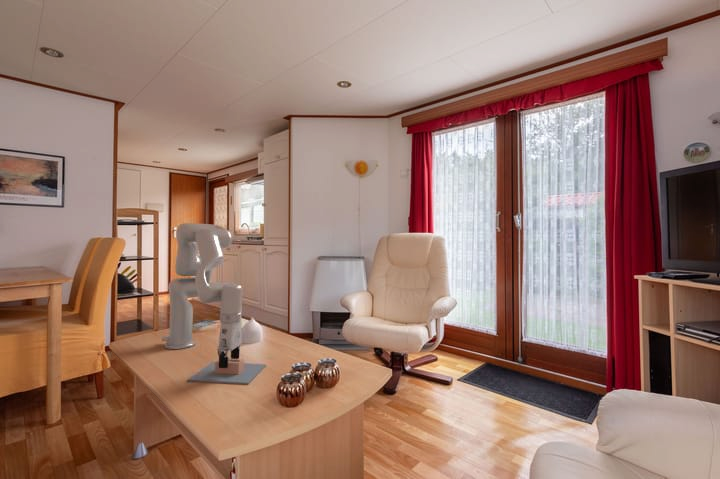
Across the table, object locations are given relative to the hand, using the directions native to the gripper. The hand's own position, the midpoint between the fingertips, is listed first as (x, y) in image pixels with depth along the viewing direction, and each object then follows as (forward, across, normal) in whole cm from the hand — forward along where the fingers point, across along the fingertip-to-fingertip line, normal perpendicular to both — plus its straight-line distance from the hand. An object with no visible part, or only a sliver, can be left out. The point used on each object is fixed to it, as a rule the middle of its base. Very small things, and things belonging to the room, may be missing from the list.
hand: (229, 362), depth 127 cm
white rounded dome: (+4, +42, +8) cm, 43 cm away
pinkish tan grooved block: (+3, 0, 0) cm, 3 cm away
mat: (+4, 0, 0) cm, 4 cm away
